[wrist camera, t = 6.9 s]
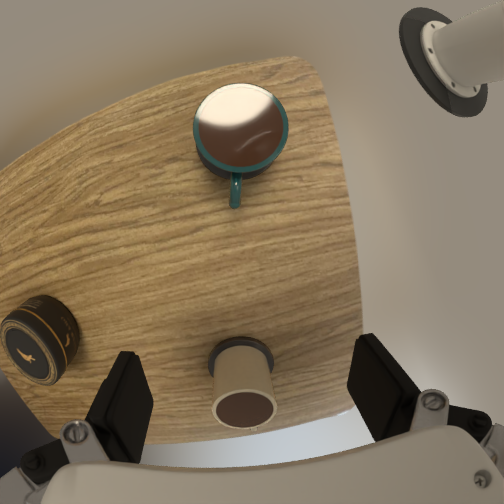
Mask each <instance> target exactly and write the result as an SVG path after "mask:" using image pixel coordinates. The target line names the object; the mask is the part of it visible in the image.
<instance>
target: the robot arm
mask: <svg viewBox="0 0 504 504" xmlns="http://www.w3.org/2000/svg"><path fill="white" fill-rule="evenodd" d="M420 42H421V47H422V50H423V53H424V56H425V58H426V60H427V62H428V64H429V66H430V68H431V69H432V71H433V72H434V74H435V75H436V77H437V78H438V79H439V80H440V82H441V83H442V84H443V85H444V86H445V87H446V88H447V89H448V90H450V91H451V92H452V93H454V94H455V95H457V96H460V97H463V98H469V97H473V96H475V95H477V93H478V92H479V90H480V87H481V84H485V83H490V82H496V81H501V80H504V0H503V1H500V2H498V3H495V4H492V5H490V6H487V7H485V8H483V9H480V10H478V11H476V12H473V13H471V14H469V15H467V16H464V17H462V18H460V19H458V20H456V21H454V22H452V23H450V24H448V25H447V24H445V23H443V22H439V21H431V22H428V23H427V24H425V25H424V26H423V27H422V29H421V32H420ZM347 388H348V391H349V393H350V395H351V397H352V399H353V401H354V403H355V404H356V406H357V408H358V410H359V412H360V414H361V416H362V418H363V419H364V421H365V423H366V425H367V427H368V429H369V431H370V433H371V435H372V437H373V438H374V441H375V443H371V444H368V445H364V446H361V447H357V448H354V449H350V450H346V451H342V452H338V453H333V454H329V455H324V456H320V457H315V458H309V459H304V460H298V461H292V462H285V463H277V464H269V465H259V466H248V467H227V468H185V467H168V466H154V465H143V464H139V463H140V460H141V455H142V451H143V446H144V442H145V438H146V433H147V429H148V425H149V421H150V417H151V413H152V409H153V397H152V395H151V392H150V389H149V386H148V383H147V380H146V377H145V374H144V371H143V368H142V365H141V361H140V358H139V356H138V355H135V353H134V352H131V351H121V352H120V353H119V355H118V357H117V359H116V361H115V363H114V365H113V367H112V369H111V371H110V373H109V375H108V377H107V379H105V380H104V381H103V383H102V385H101V387H100V389H99V391H98V393H97V395H96V397H95V399H94V401H93V403H92V405H91V407H90V410H89V412H88V414H87V416H86V418H85V420H81V419H75V420H71V421H69V422H67V423H65V424H64V425H63V426H62V428H61V430H60V439H58V440H56V441H53V442H51V443H49V444H46V445H44V446H41V447H39V448H36V449H34V450H31V451H29V452H27V453H25V454H24V456H22V458H21V462H20V466H21V467H20V468H19V469H17V468H16V467H15V468H14V469H12V470H11V471H10V472H8V473H7V474H6V475H4V476H3V477H2V478H0V504H504V426H502V425H500V424H497V423H495V425H492V421H491V418H490V417H489V416H488V415H487V414H486V413H484V412H482V411H478V410H472V409H467V408H462V407H457V406H452V405H449V399H448V397H447V396H446V395H445V394H444V393H443V392H441V391H439V390H436V389H429V390H425V391H423V392H421V391H420V390H419V389H418V387H417V386H416V385H415V384H414V382H413V381H412V380H411V378H410V377H409V376H408V375H407V373H406V372H405V371H404V370H403V369H402V367H401V366H400V365H399V364H398V363H397V361H396V360H395V359H394V358H393V356H392V355H391V354H390V353H389V352H388V351H387V349H386V348H385V347H384V346H383V344H382V343H381V342H380V341H379V340H378V339H377V337H376V336H375V335H374V334H373V333H369V334H364V335H360V336H359V339H356V341H355V346H354V352H353V357H352V362H351V367H350V372H349V377H348V381H347Z"/></svg>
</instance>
